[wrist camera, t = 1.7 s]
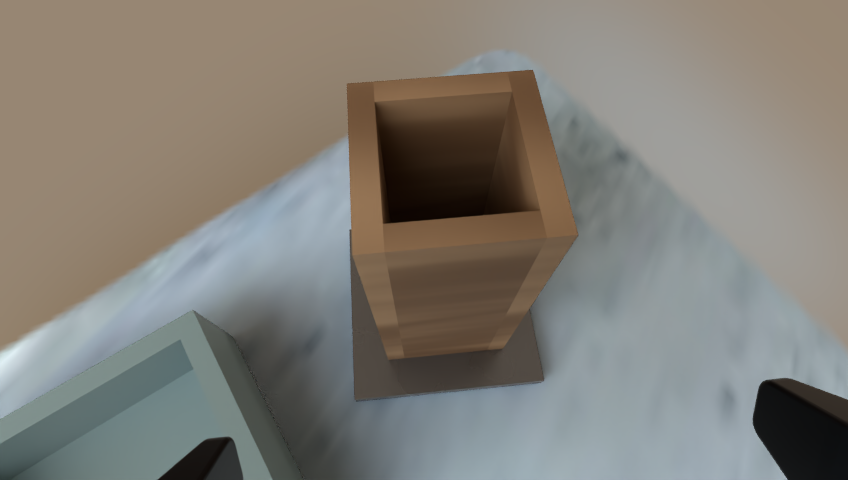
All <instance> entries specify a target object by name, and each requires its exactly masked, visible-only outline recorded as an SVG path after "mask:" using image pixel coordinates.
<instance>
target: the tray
mask: <svg viewBox="0 0 848 480" xmlns="http://www.w3.org/2000/svg"><path fill="white" fill-rule="evenodd" d="M225 436H229V437H231V438H232V439H233V440H234V442H235V445H236V449H237V453H238V457H239V461H240V465H241V469H242V472H243V480H304V479H303V477H302V475H301V473H300V471H299V469H298V467H297V465H296V463H295V461H294V459H293V457H292V455H291V453H290V451H289V449H288V447H287V445H286V443H285V441H284V439H283V437H282V435H281V433H280V431H279V429H278V427H277V425H276V423H275V421H274V419H273V417H272V415H271V413H270V411H269V409H268V407H267V405H266V403H265V401H264V399H263V397H262V395H261V393H260V391H259V389H258V387H257V385H256V383H255V381H254V379H253V377H252V375H251V373H250V371H249V369H248V367H247V365H246V363H245V361H244V359H243V357H242V355H241V353H240V351H239V349H238V347H237V345H236V343H235V341H234V339H233V337H232V336H231V335H229V334H228V333H226V332H225V331H223V330H222V329H220V328H219V327H217V326H216V325H214V324H213V323H211V322H210V321H208V320H207V319H205V318H204V317H202V316H201V315H199V314H198V313H197V312H195V311H194V310H192V311H190V312H188V313H186V314H185V315H183V316H181V317H179V318H178V319H176V320H174V321H172V322H171V323H169V324H167V325H165V326H164V327H162V328H160V329H158V330H157V331H155V332H153V333H151V334H149V335H148V336H146V337H144V338H142V339H141V340H139V341H137V342H135V343H134V344H132V345H130V346H128V347H127V348H125V349H123V350H121V351H120V352H118V353H116V354H114V355H113V356H111V357H109V358H107V359H106V360H104V361H102V362H100V363H98V364H97V365H95V366H93V367H91V368H90V369H88V370H86V371H84V372H83V373H81V374H79V375H77V376H76V377H74V378H72V379H70V380H69V381H67V382H65V383H63V384H62V385H60V386H58V387H56V388H55V389H53V390H51V391H49V392H47V393H46V394H44V395H42V396H40V397H39V398H37V399H35V400H33V401H32V402H30V403H28V404H26V405H25V406H23V407H21V408H19V409H18V410H16V411H14V412H12V413H11V414H9V415H7V416H5V417H4V418H2V419H0V480H157V479H159V478H160V477H161V476H162V475H163V474H164V473H166V472H167V471H168V470H169V469H170V468H171V467H173V466H174V465H175V464H176V463H177V462H179V461H180V460H181V459H182V458H183V457H184V456H186V455H187V454H188V453H189V452H190V451H192V450H193V449H194V448H195V447H196V446H197V445H199V444H200V443H201V442H202V441H204V440H205V439H208V438H216V437H225Z"/></svg>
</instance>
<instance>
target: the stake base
mask: <svg viewBox="0 0 848 480" xmlns="http://www.w3.org/2000/svg"><path fill="white" fill-rule="evenodd" d="M350 261H351V295H352V328H353V362H354V395H355V401H356V402H358V401H367V400H377V399H387V398H397V397H406V396H416V395H426V394H436V393H446V392H455V391H465V390H475V389H485V388H495V387H504V386H514V385H524V384H534V383H541V382H543V381H544V378H543V373H542V368H541V363H540V358H539V353H538V348H537V344H536V339H535V334H534V329H533V324H532V319H531V314H530V309H529V310H528V312H527V313H526V315H525V316H524V318H523V319H522V321H521V322H520V324H519V325H518V327H517V328H516V330H515V331H514V333H513V334H512V336H511V337H510V339H509V340H508V342H507V343H506V345H505V346H504V348H503V349H493V350H483V351H473V352H463V353H453V354H443V355H433V356H423V357H412V358H402V359H392V360H388V357H387V354H386V352H385V349H384V346H383V343H382V340H381V337H380V334H379V331H378V328H377V325H376V322H375V320H374V317H373V314H372V311H371V308H370V305H369V302H368V299H367V296H366V293H365V291H364V288H363V285H362V282H361V279H360V276H359V273H358V270H357V267H356V264H355V261H354V259H353V256H352V230H350Z"/></svg>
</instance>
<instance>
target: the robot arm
mask: <svg viewBox="0 0 848 480" xmlns="http://www.w3.org/2000/svg"><path fill="white" fill-rule="evenodd" d="M753 426H754V429H755V431H756V433H757V435H758V437H759V438H760V440H761V441H762V442H763V444H764V445H765V447H766V448H767V450H768V451H769V453H770V454H771V456H772V457H773V459H774V460H775V462H776V463H777V465H778V466H779V467H780V469H781V470H782V472H783V473H784V475H785V476H786V478H787V479H788V480H848V400H847V399H844V398H842V397H839V396H836V395H833V394H831V393H828V392H825V391H823V390H820V389H817V388H814V387H812V386H809V385H806V384H804V383H801V382H798V381H796V380H793V379H789V378H780V379H771V380H765V381H763V382H762V383H761V384H760V386H759V389H758V394H757V399H756V404H755V408H754V413H753ZM157 480H243V472H242V469H241V465H240V461H239V457H238V453H237V449H236V445H235V442H234V440H233V439H232V438H231V437H229V436H225V437H216V438H208V439H205V440H204V441H202V442H201V443H200V444H199V445H197V446H196V447H195V448H194V449H193V450H192V451H190V452H189V453H188V454H187V455H186V456H184V457H183V458H182V459H181V460H180V461H179V462H177V463H176V464H175V465H174V466H173V467H171V468H170V469H169V470H168V471H167V472H166V473H164V474H163V475H162V476H161V477H160V478H159V479H157Z"/></svg>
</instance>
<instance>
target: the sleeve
mask: <svg viewBox="0 0 848 480" xmlns="http://www.w3.org/2000/svg"><path fill="white" fill-rule="evenodd" d="M347 100H348V101H347V102H348V103H347V104H348V135H349V167H350V198H351V229H352V256H353V259H354V261H355V264H356V267H357V270H358V273H359V276H360V279H361V282H362V285H363V288H364V291H365V293H366V296H367V299H368V302H369V305H370V308H371V311H372V314H373V317H374V320H375V322H376V325H377V328H378V331H379V334H380V337H381V340H382V343H383V346H384V349H385V352H386V354H387V357H388V360H392V359H402V358H412V357H423V356H433V355H443V354H453V353H463V352H473V351H483V350H493V349H503V348H504V346H505V345H506V343H507V342H508V340H509V339H510V337H511V336H512V334H513V333H514V331H515V330H516V328H517V327H518V325H519V324H520V322H521V321H522V319H523V318H524V316H525V315H526V313H527V312H528V310H529V309H530V307H531V306H532V304H533V303H534V301H535V300H536V298H537V296H538V295H539V293H540V292H541V290H542V289H543V287H544V286H545V284H546V283H547V281H548V280H549V278H550V277H551V275H552V274H553V272H554V271H555V269H556V268H557V266H558V265H559V263H560V262H561V260H562V259H563V257H564V256H565V254H566V253H567V251H568V250H569V248H570V247H571V245H572V244H573V242H574V241H575V239H576V238H577V236H578V232H577V228H576V225H575V221H574V217H573V214H572V210H571V207H570V203H569V199H568V196H567V192H566V188H565V185H564V181H563V177H562V174H561V170H560V166H559V163H558V159H557V155H556V152H555V148H554V145H553V141H552V137H551V134H550V130H549V126H548V123H547V119H546V115H545V112H544V108H543V104H542V101H541V97H540V93H539V90H538V86H537V82H536V79H535V75H534V72H533V70H525V71H511V72H497V73H484V74H470V75H457V76H443V77H430V78H417V79H404V80H390V81H376V82H362V83H348V84H347Z"/></svg>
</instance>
